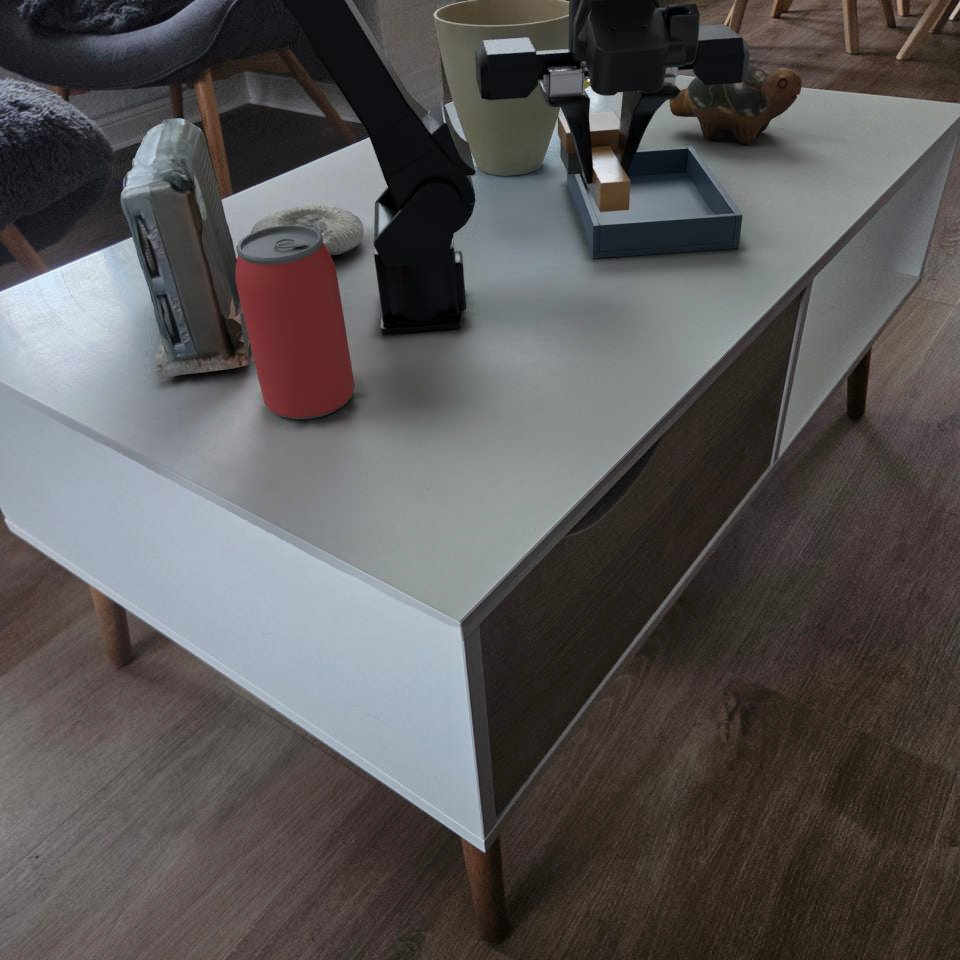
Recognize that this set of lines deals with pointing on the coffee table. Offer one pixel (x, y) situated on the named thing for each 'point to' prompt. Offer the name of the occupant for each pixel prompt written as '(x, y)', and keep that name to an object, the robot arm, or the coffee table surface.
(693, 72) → the robot arm
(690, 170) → the tray
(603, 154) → the brush
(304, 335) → the beer can
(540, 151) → the plant pot
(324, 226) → the fossil
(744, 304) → the coffee table surface
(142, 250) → the radio
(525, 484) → the coffee table surface
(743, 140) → the decorative turtle
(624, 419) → the coffee table surface
